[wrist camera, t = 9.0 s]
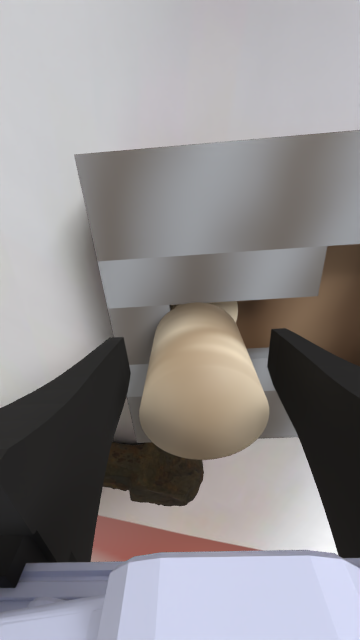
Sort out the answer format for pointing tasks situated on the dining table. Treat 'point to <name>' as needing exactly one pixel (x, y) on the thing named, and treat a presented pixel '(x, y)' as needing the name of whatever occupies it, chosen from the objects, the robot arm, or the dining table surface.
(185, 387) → the keyhole peg
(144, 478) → the hand tool
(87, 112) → the dining table surface
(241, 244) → the keyhole plate
